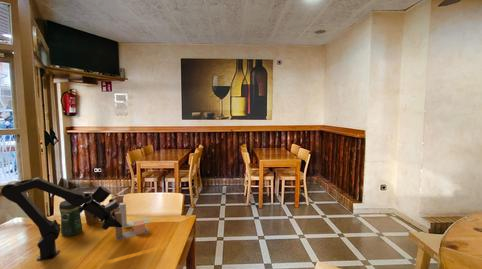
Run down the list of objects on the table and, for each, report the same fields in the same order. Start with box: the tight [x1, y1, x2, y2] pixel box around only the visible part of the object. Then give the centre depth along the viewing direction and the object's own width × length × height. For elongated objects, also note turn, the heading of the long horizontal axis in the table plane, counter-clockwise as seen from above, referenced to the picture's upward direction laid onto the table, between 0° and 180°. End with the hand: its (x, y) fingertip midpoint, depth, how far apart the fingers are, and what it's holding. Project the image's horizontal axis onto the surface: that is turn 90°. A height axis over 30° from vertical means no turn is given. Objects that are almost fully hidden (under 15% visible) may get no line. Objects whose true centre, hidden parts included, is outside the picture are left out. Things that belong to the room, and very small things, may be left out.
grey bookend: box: [118, 202, 152, 229], centre depth 144 cm, size 16×7×14 cm, turn 120°
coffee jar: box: [58, 199, 83, 237], centre depth 134 cm, size 10×8×19 cm
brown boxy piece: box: [114, 210, 150, 241], centre depth 131 cm, size 16×7×14 cm, turn 120°
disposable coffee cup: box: [83, 200, 102, 225], centre depth 148 cm, size 10×10×12 cm
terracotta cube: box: [133, 220, 146, 236], centre depth 133 cm, size 5×5×5 cm
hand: (121, 225), depth 129 cm, fingers closed on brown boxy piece, 3 cm apart
